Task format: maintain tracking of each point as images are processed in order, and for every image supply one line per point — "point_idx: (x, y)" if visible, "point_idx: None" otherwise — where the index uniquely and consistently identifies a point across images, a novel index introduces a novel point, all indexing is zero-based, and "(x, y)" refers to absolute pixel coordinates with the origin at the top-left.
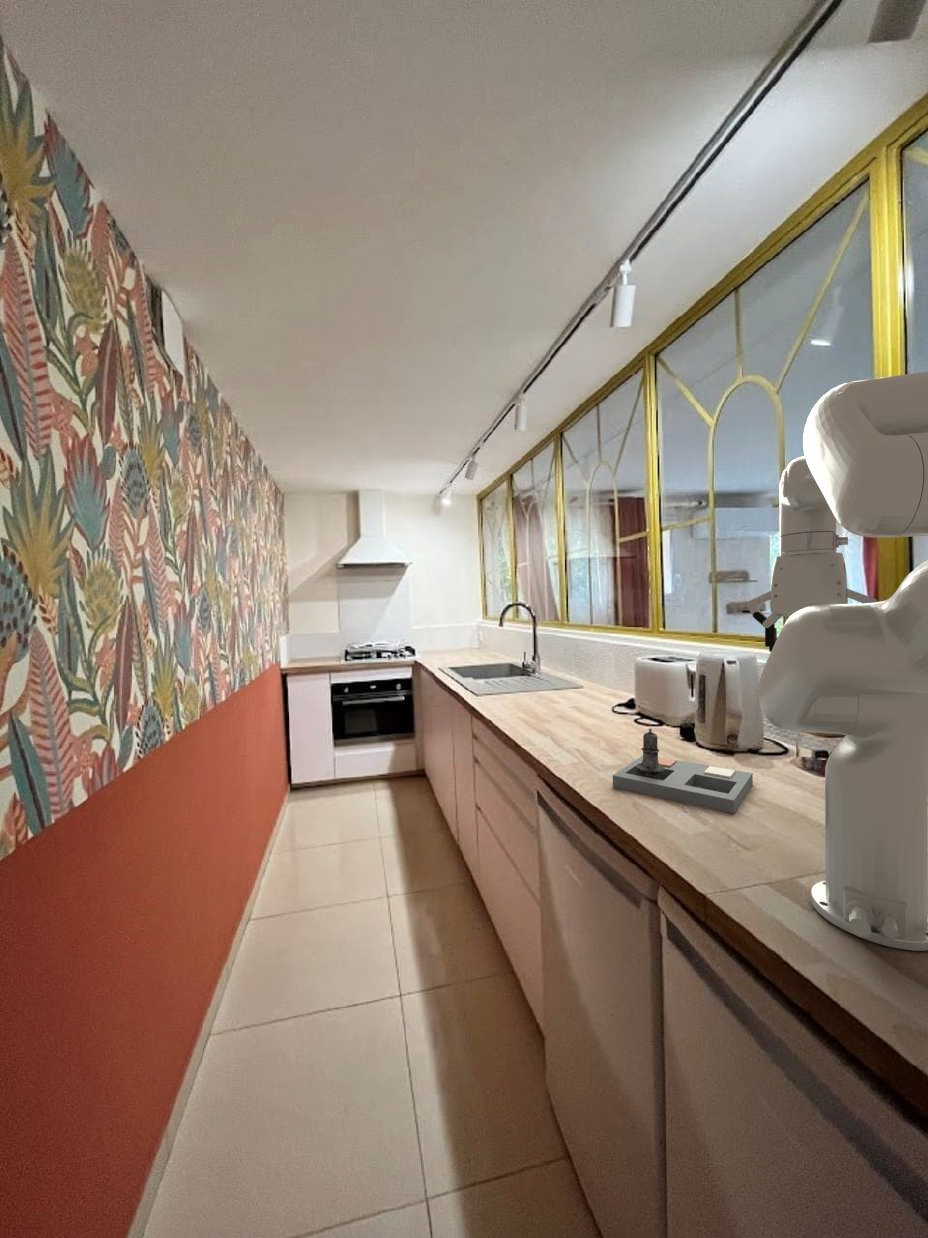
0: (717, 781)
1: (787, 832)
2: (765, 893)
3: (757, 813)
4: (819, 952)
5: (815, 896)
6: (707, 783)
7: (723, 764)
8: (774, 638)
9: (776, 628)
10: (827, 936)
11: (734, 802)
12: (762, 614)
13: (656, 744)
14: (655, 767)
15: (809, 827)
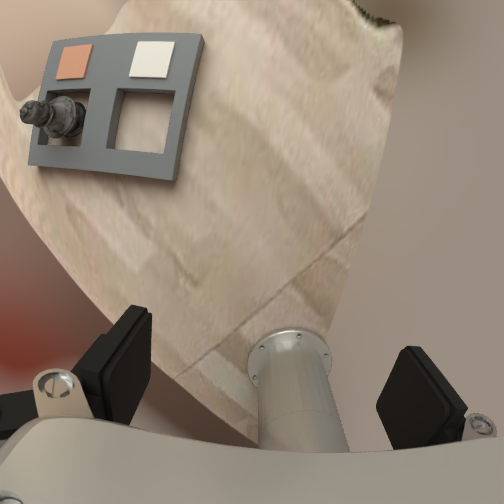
0: (150, 89)
1: (239, 212)
2: (214, 362)
3: (205, 160)
4: (246, 411)
5: (250, 369)
6: (138, 90)
7: None
8: (133, 410)
9: (109, 382)
10: (253, 396)
11: (173, 176)
12: (5, 438)
13: (43, 114)
14: (63, 126)
15: (267, 181)
